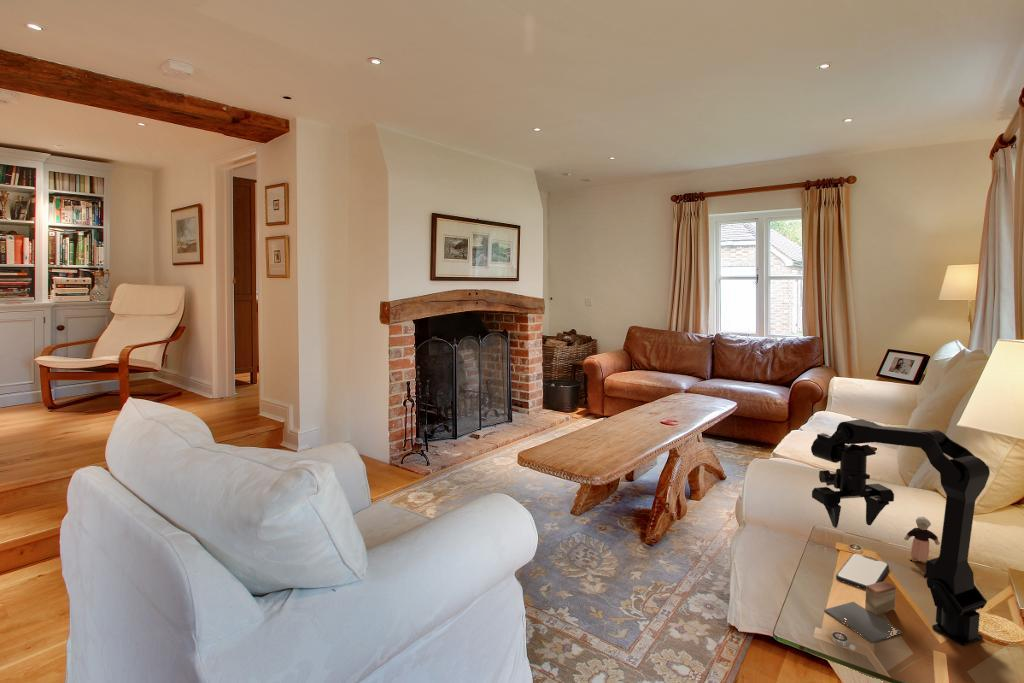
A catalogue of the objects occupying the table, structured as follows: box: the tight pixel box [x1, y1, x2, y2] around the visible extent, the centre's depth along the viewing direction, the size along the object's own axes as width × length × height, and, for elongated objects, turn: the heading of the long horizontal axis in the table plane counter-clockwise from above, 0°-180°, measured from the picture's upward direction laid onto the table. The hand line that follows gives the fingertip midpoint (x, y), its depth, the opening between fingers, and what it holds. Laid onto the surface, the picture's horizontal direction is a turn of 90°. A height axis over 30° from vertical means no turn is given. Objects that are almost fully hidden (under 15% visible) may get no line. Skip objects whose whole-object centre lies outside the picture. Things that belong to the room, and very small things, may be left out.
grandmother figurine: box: [903, 516, 941, 564], centre depth 147 cm, size 8×4×13 cm, turn 73°
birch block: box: [864, 580, 897, 616], centre depth 127 cm, size 3×6×6 cm, turn 108°
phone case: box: [835, 553, 890, 590], centre depth 143 cm, size 9×2×16 cm
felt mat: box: [823, 601, 903, 644], centre depth 123 cm, size 12×9×1 cm
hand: (851, 525), depth 140 cm, fingers open, 9 cm apart
